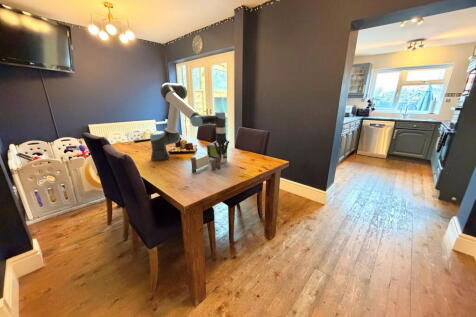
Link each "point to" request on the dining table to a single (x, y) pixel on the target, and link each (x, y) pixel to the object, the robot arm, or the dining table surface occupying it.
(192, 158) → the hinge post
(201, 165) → the cream flat block
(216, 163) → the post
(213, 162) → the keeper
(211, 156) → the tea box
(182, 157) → the dining table surface
